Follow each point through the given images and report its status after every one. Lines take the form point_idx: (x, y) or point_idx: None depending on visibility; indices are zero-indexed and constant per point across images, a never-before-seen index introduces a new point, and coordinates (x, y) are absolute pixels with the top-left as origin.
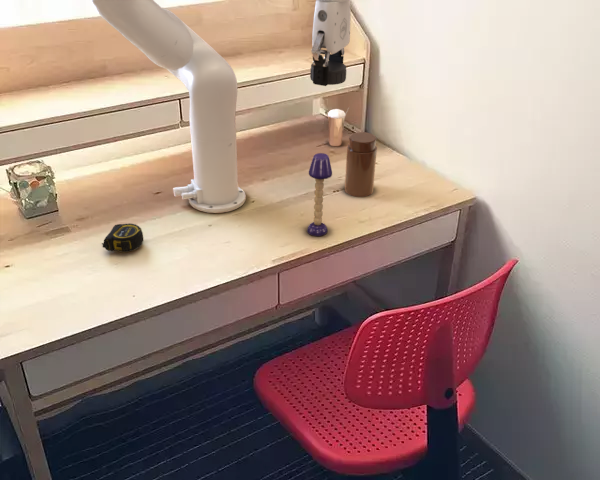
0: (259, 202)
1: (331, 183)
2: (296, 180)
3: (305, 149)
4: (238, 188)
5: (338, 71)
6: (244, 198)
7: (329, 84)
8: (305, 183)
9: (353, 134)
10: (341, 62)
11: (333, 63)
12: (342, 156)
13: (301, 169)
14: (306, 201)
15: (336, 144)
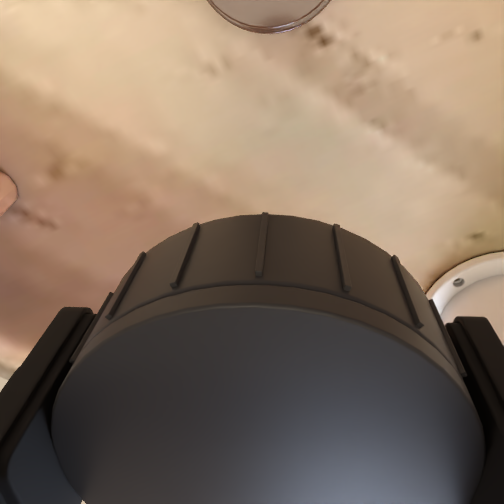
0: (475, 220)
1: (268, 78)
2: (298, 188)
3: (93, 247)
4: (441, 294)
5: (407, 340)
6: (496, 259)
7: (432, 305)
8: (306, 156)
9: (254, 14)
10: (35, 410)
11: (140, 460)
12: (60, 130)
13: (222, 205)
14: (428, 100)
15: (7, 180)
